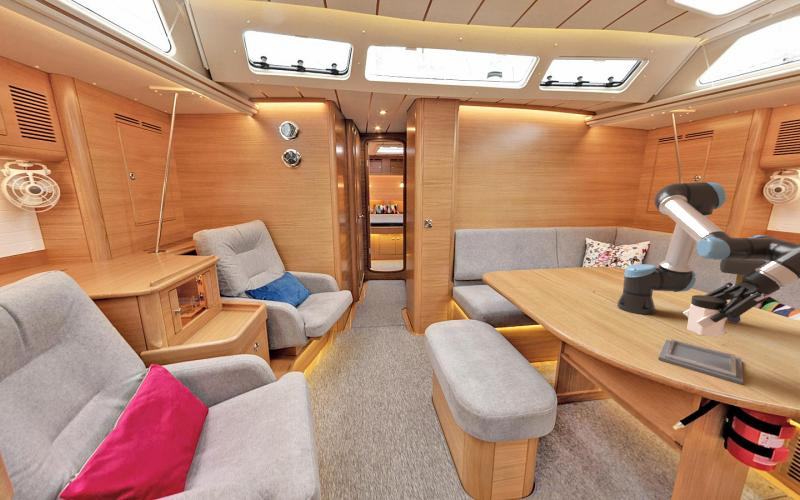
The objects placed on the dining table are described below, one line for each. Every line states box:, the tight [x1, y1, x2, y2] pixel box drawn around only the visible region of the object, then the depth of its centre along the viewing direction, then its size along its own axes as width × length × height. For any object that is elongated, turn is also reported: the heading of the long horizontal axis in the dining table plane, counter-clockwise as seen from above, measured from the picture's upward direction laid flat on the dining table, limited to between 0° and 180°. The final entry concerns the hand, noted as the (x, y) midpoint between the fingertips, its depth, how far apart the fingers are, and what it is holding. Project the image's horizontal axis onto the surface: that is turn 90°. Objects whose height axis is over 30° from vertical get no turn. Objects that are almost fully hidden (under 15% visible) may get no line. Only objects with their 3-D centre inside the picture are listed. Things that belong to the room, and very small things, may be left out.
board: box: [658, 339, 744, 385], centre depth 98 cm, size 19×19×1 cm
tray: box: [665, 339, 736, 377], centre depth 97 cm, size 16×16×1 cm
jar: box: [686, 294, 729, 339], centre depth 95 cm, size 9×8×12 cm
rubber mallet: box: [719, 259, 768, 324], centre depth 124 cm, size 12×8×30 cm, turn 56°
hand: (692, 320), depth 96 cm, fingers closed on jar, 8 cm apart
